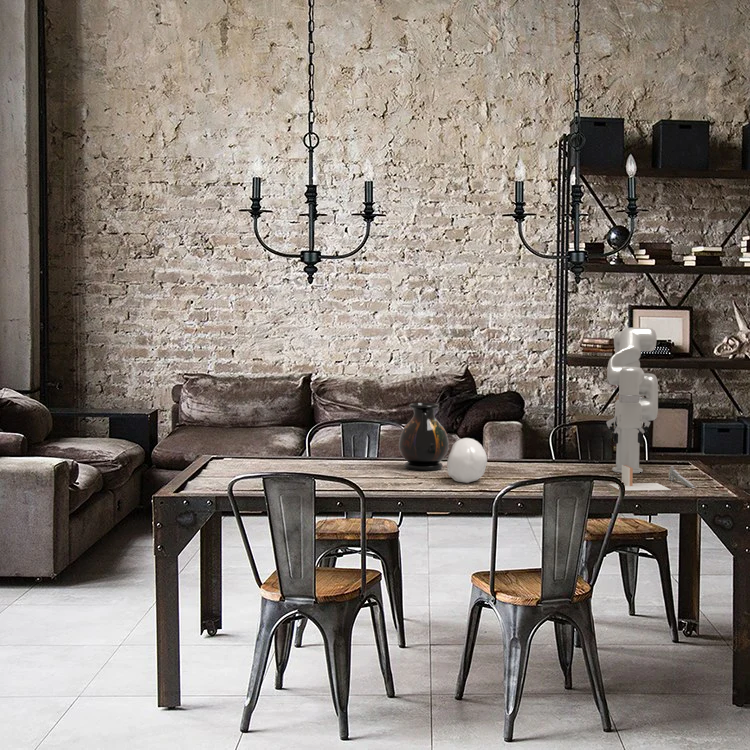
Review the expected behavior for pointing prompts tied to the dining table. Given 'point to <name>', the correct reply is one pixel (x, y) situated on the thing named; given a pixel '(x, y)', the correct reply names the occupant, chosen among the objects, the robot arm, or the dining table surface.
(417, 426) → the black vase
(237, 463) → the dining table surface
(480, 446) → the white egg
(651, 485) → the mat
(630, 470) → the tile
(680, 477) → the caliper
